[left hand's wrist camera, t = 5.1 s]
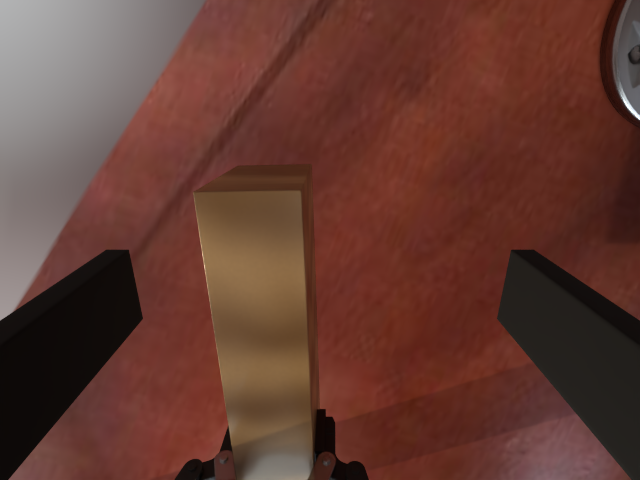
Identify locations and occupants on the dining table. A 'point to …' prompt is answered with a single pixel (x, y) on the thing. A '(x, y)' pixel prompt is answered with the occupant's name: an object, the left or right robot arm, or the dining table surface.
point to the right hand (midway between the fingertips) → (284, 417)
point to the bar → (264, 314)
